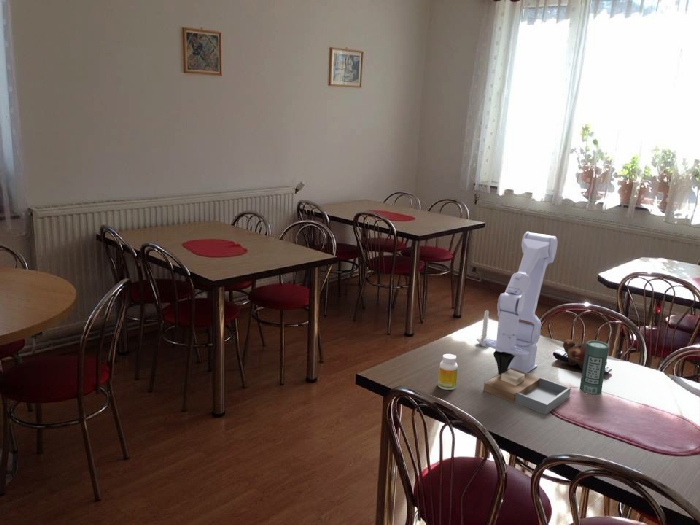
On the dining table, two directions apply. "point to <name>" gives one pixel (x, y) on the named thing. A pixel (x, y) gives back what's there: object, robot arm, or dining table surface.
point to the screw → (484, 329)
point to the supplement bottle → (448, 372)
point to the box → (544, 396)
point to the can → (594, 367)
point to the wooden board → (510, 386)
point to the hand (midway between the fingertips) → (502, 374)
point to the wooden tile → (512, 377)
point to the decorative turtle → (575, 352)
